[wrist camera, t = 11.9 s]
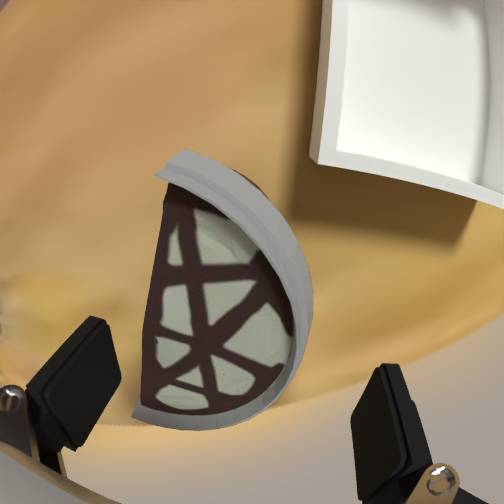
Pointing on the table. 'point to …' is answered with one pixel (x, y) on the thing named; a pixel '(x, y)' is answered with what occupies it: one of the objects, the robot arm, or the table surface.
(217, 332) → the food container
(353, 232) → the table surface
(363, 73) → the white rectangular tray
